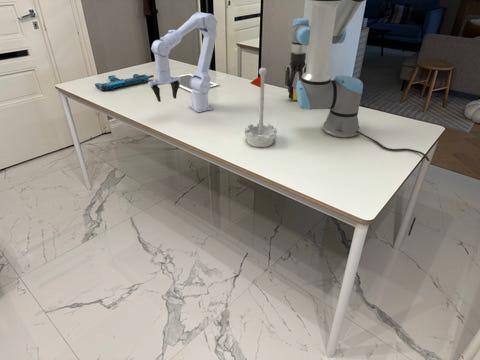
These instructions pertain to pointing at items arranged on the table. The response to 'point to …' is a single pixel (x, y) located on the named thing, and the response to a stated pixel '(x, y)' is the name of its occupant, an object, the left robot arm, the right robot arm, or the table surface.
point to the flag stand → (260, 120)
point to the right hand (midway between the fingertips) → (294, 97)
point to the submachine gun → (122, 81)
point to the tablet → (186, 82)
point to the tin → (294, 94)
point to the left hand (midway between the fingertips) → (167, 99)
